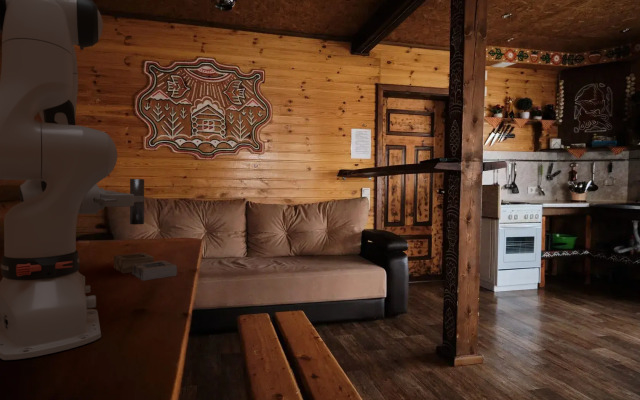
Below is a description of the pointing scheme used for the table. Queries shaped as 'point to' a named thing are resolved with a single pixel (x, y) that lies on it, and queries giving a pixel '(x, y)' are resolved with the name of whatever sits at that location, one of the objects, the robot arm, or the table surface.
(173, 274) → the socket
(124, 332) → the table surface
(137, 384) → the table surface
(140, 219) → the dark rounded handle
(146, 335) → the table surface
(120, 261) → the rack
